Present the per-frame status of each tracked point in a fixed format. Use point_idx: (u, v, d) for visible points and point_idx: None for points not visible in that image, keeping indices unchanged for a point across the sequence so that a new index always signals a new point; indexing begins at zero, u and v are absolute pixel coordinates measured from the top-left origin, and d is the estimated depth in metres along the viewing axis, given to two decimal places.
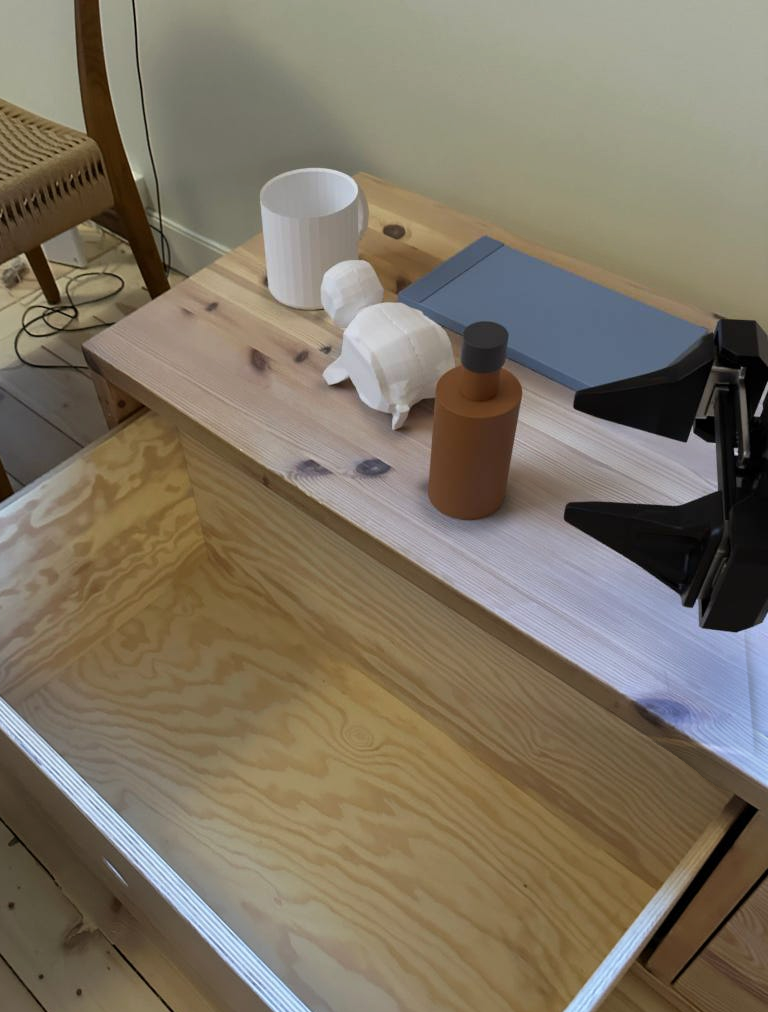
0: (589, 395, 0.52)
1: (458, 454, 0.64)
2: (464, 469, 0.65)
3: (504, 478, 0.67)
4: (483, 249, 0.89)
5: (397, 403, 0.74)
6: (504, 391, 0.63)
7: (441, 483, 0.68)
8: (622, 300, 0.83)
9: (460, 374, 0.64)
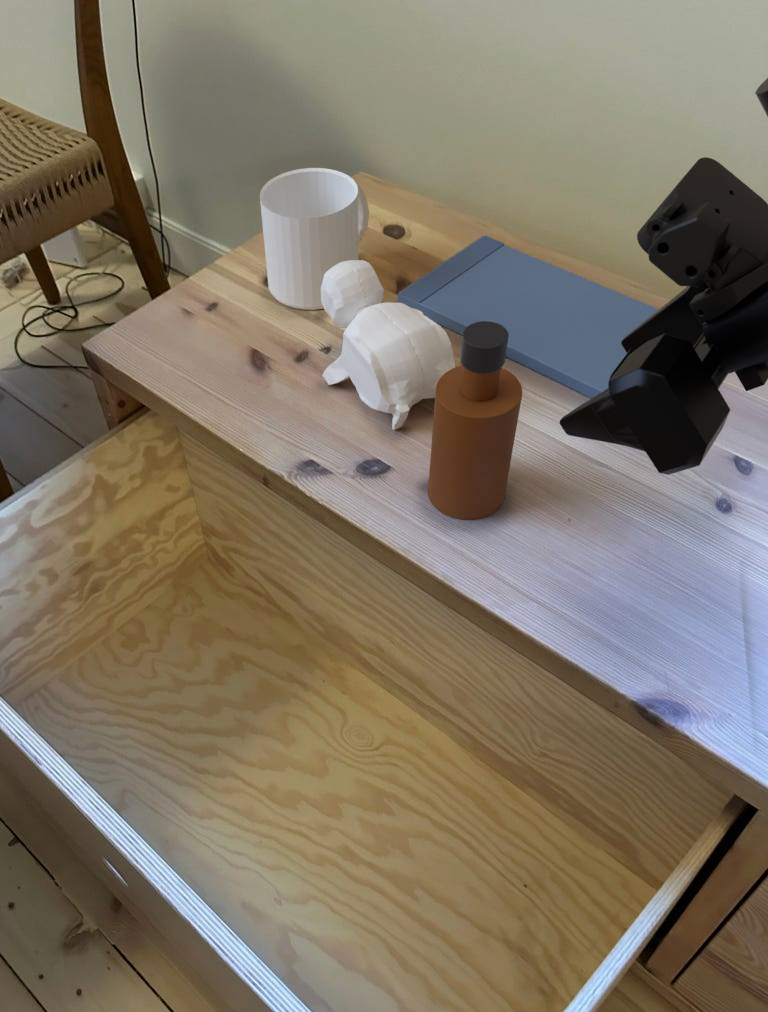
0: (630, 337, 0.58)
1: (458, 454, 0.64)
2: (464, 469, 0.65)
3: (504, 478, 0.67)
4: (483, 249, 0.89)
5: (397, 403, 0.74)
6: (504, 391, 0.63)
7: (441, 483, 0.68)
8: (622, 300, 0.83)
9: (460, 374, 0.64)
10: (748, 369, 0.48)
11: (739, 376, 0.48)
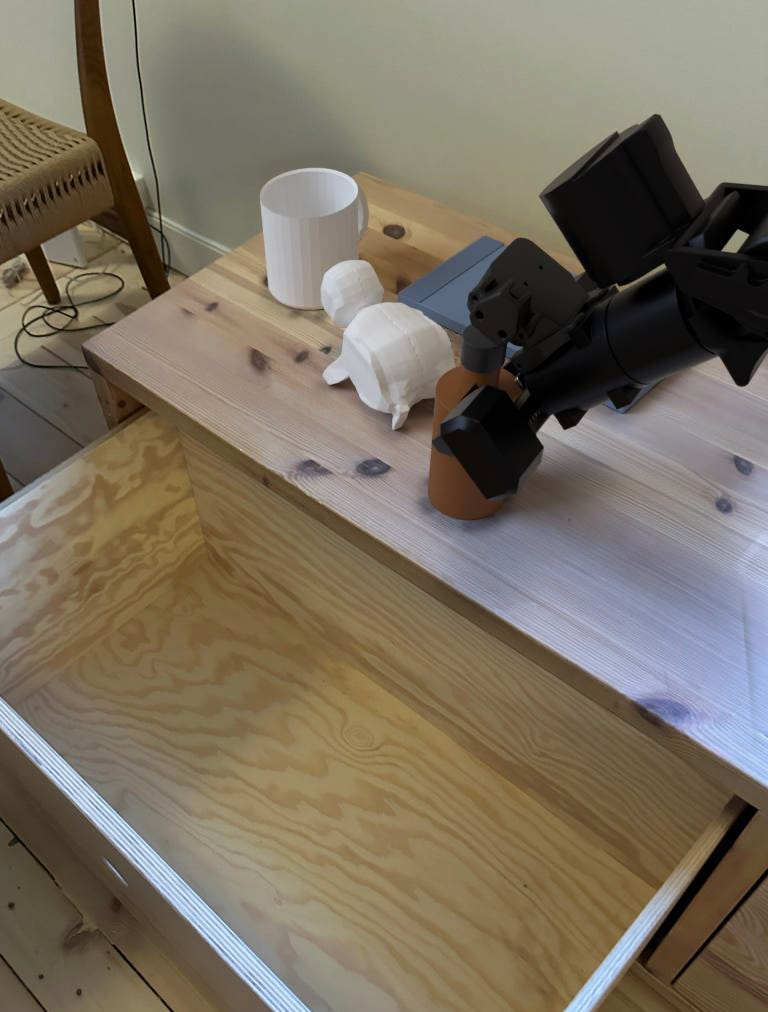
0: None
1: None
2: (463, 469, 0.65)
3: None
4: (483, 249, 0.89)
5: (397, 403, 0.74)
6: None
7: (441, 483, 0.68)
8: None
9: (460, 374, 0.64)
10: (562, 412, 0.57)
11: (557, 418, 0.58)
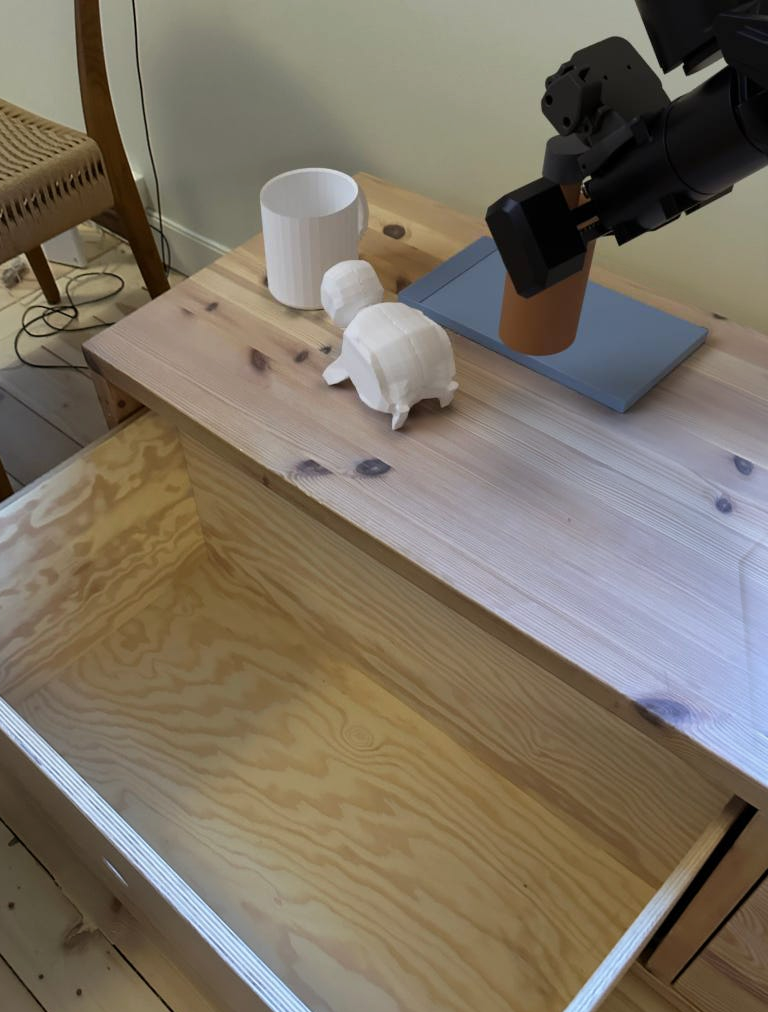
0: None
1: None
2: None
3: (571, 316, 0.67)
4: (483, 249, 0.89)
5: (397, 403, 0.74)
6: None
7: (507, 309, 0.68)
8: (622, 300, 0.83)
9: None
10: (619, 225, 0.57)
11: (614, 231, 0.57)
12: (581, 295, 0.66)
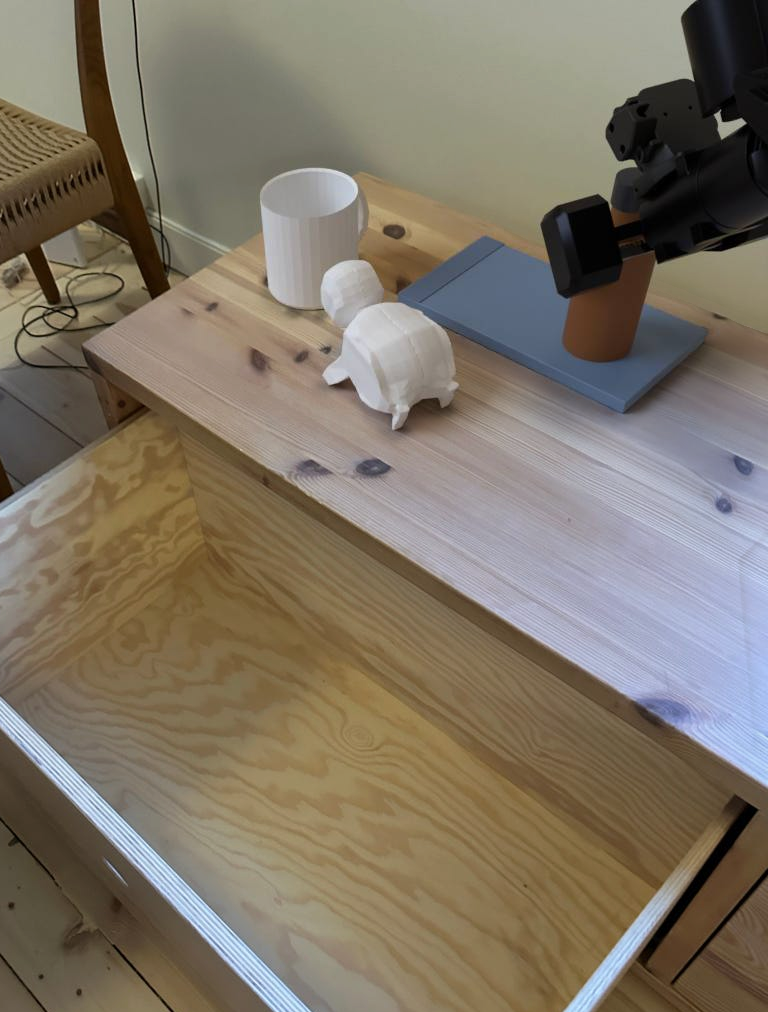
0: None
1: None
2: (585, 303, 0.74)
3: (623, 330, 0.75)
4: (483, 249, 0.89)
5: (397, 403, 0.74)
6: None
7: (569, 316, 0.77)
8: None
9: None
10: (659, 245, 0.64)
11: (655, 250, 0.65)
12: (635, 312, 0.74)
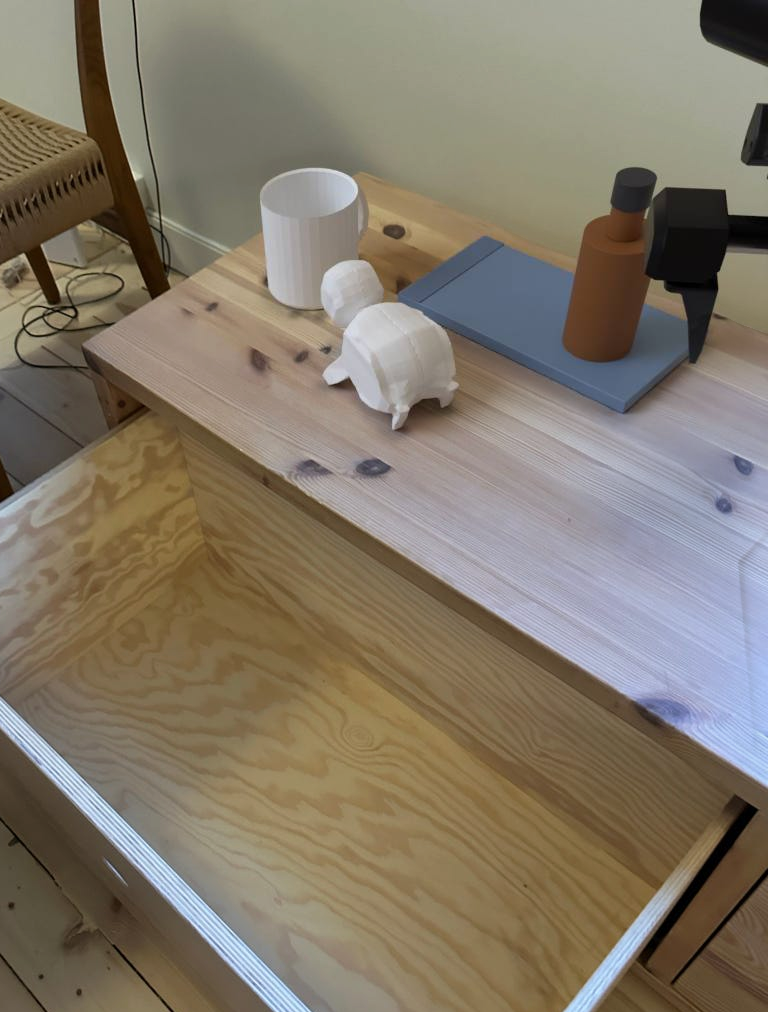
0: None
1: (584, 286, 0.73)
2: (585, 303, 0.74)
3: (623, 330, 0.75)
4: (483, 249, 0.89)
5: (397, 403, 0.74)
6: (642, 240, 0.70)
7: (569, 316, 0.77)
8: None
9: None
10: None
11: None
12: (635, 312, 0.74)
